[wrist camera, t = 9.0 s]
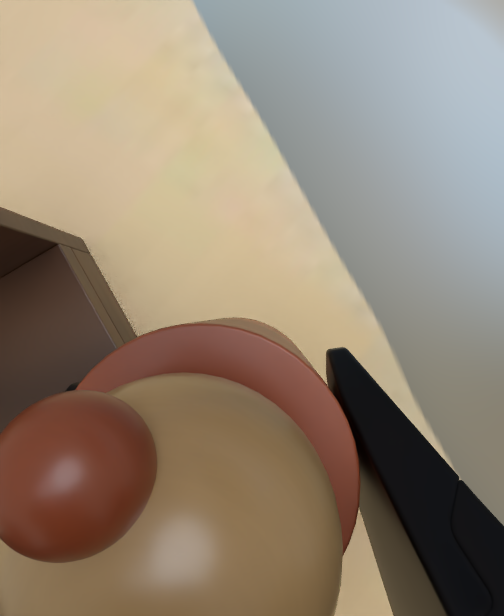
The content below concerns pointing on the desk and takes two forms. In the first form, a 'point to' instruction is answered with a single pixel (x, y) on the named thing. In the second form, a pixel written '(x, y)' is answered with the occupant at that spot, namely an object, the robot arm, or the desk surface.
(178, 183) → the desk surface
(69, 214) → the desk surface
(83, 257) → the brown l-shaped bookend
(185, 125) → the desk surface
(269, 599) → the wooden toy
